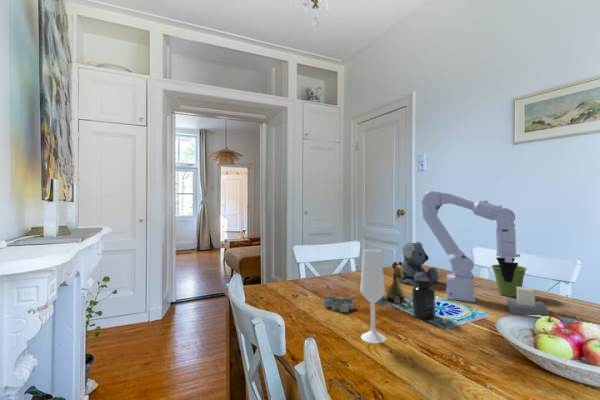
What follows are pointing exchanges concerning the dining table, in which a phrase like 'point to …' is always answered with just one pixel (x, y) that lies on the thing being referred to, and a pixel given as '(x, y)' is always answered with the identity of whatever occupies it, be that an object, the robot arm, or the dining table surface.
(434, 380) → the dining table surface
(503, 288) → the plant pot
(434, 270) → the koala plush
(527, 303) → the cream block
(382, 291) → the champagne flute
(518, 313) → the slate slab
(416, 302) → the supplement bottle
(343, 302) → the egg carton
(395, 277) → the stuffed giraffe
